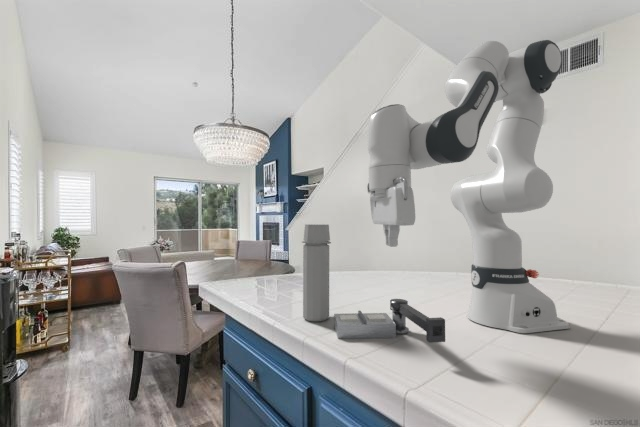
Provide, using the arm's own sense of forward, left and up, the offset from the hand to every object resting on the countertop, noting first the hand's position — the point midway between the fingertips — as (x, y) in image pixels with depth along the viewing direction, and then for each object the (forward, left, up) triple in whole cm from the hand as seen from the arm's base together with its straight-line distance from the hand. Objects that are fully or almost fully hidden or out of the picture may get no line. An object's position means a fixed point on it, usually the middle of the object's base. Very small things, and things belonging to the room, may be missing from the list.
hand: (391, 246), depth 65 cm
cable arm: (-4, +1, -16) cm, 17 cm away
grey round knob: (-4, -7, -21) cm, 22 cm away
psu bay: (+5, -7, -21) cm, 22 cm away
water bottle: (+15, -18, -21) cm, 31 cm away
